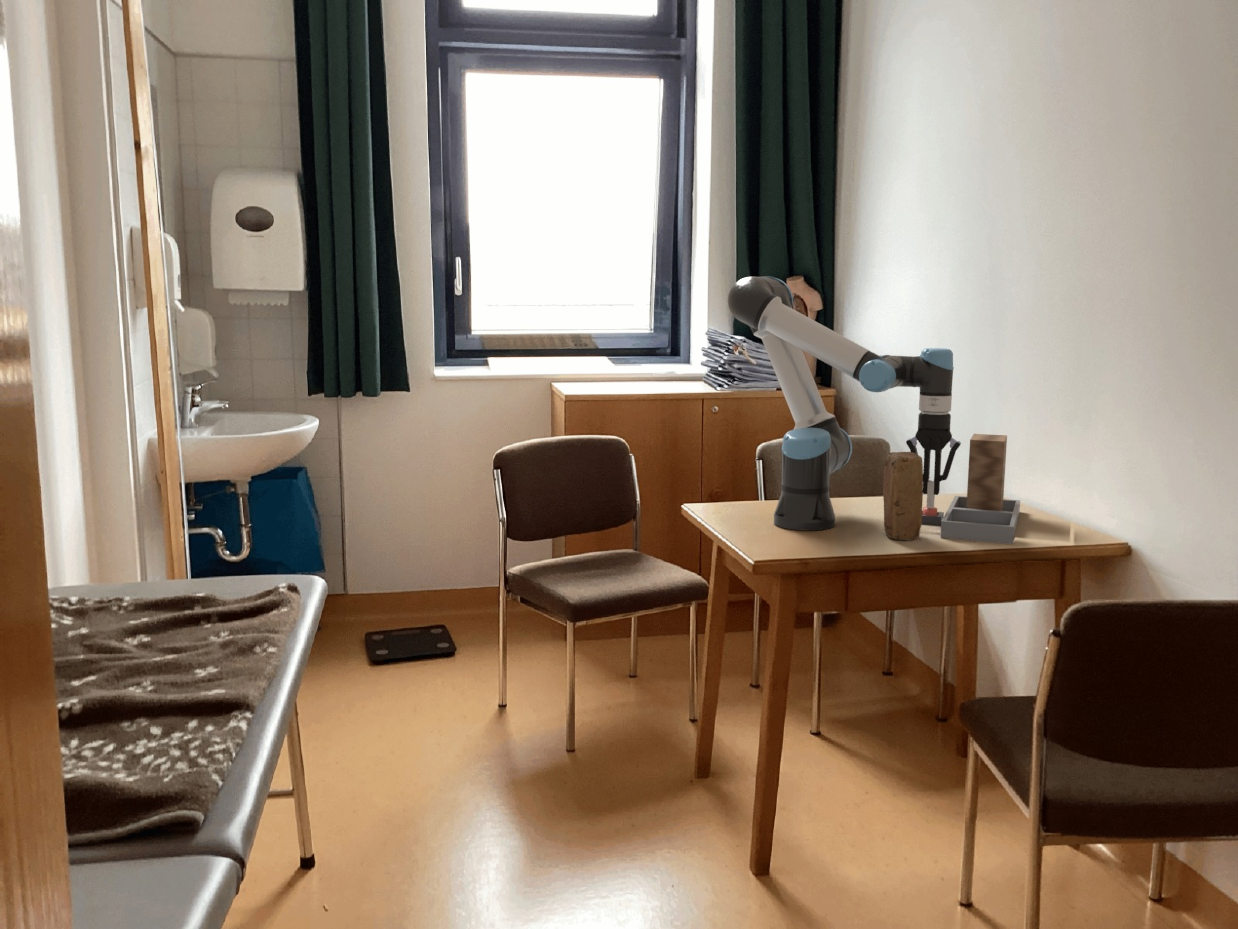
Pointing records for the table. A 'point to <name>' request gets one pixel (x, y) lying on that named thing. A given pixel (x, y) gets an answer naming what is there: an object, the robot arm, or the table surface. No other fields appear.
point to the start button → (930, 511)
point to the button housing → (932, 519)
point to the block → (903, 495)
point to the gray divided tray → (980, 522)
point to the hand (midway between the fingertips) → (930, 507)
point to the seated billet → (986, 472)
